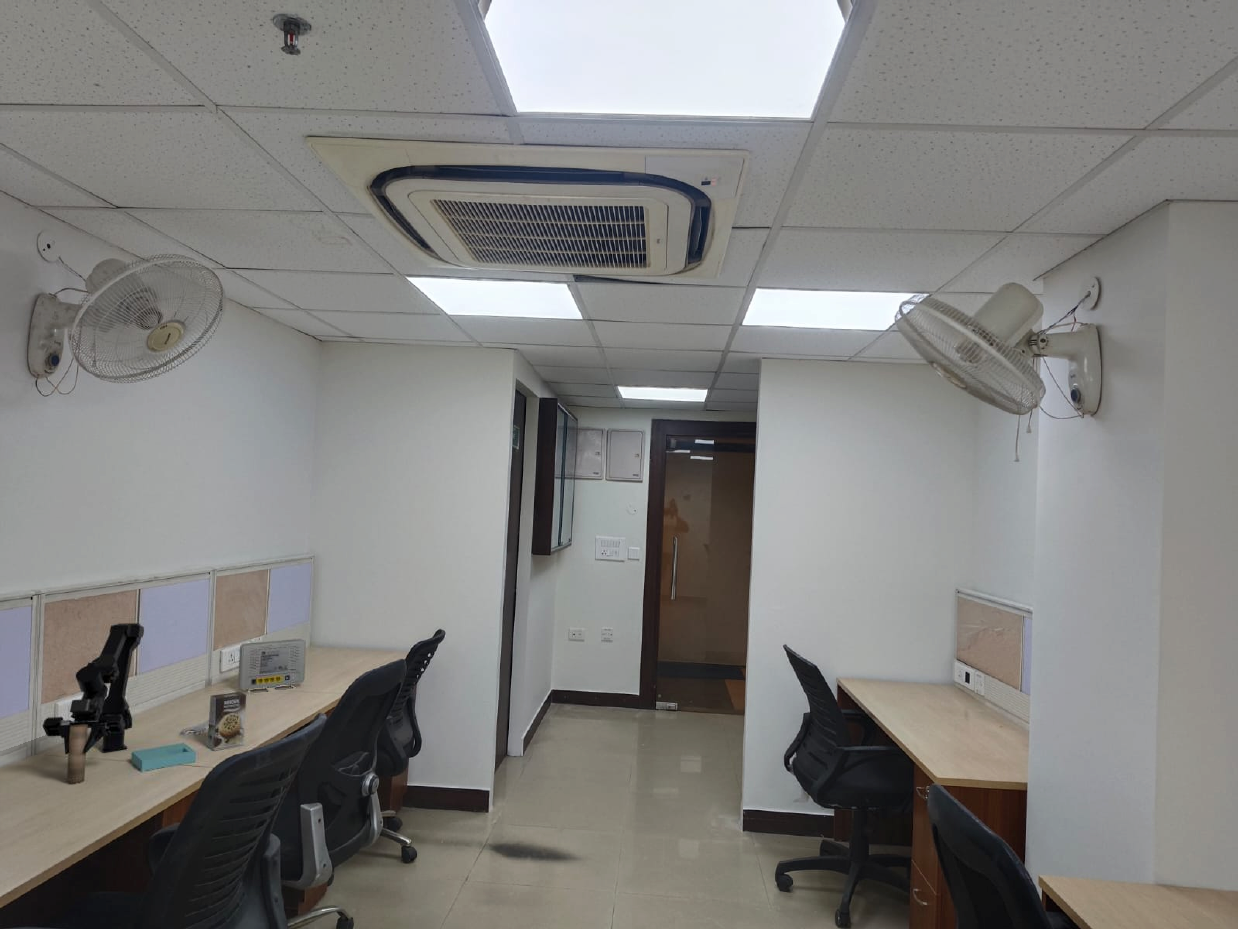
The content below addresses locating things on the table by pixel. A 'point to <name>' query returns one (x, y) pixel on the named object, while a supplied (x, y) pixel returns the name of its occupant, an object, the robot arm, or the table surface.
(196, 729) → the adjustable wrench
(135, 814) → the table surface
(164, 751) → the holder block
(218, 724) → the brown cookie box
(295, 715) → the table surface
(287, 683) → the network device
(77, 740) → the peg
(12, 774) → the table surface
